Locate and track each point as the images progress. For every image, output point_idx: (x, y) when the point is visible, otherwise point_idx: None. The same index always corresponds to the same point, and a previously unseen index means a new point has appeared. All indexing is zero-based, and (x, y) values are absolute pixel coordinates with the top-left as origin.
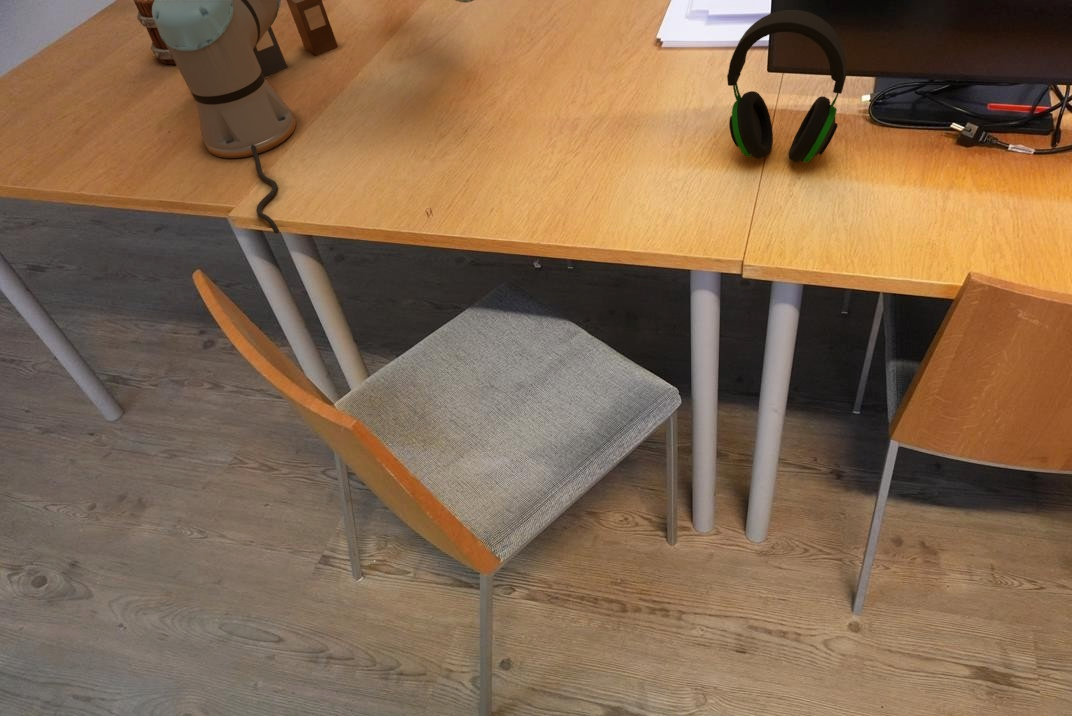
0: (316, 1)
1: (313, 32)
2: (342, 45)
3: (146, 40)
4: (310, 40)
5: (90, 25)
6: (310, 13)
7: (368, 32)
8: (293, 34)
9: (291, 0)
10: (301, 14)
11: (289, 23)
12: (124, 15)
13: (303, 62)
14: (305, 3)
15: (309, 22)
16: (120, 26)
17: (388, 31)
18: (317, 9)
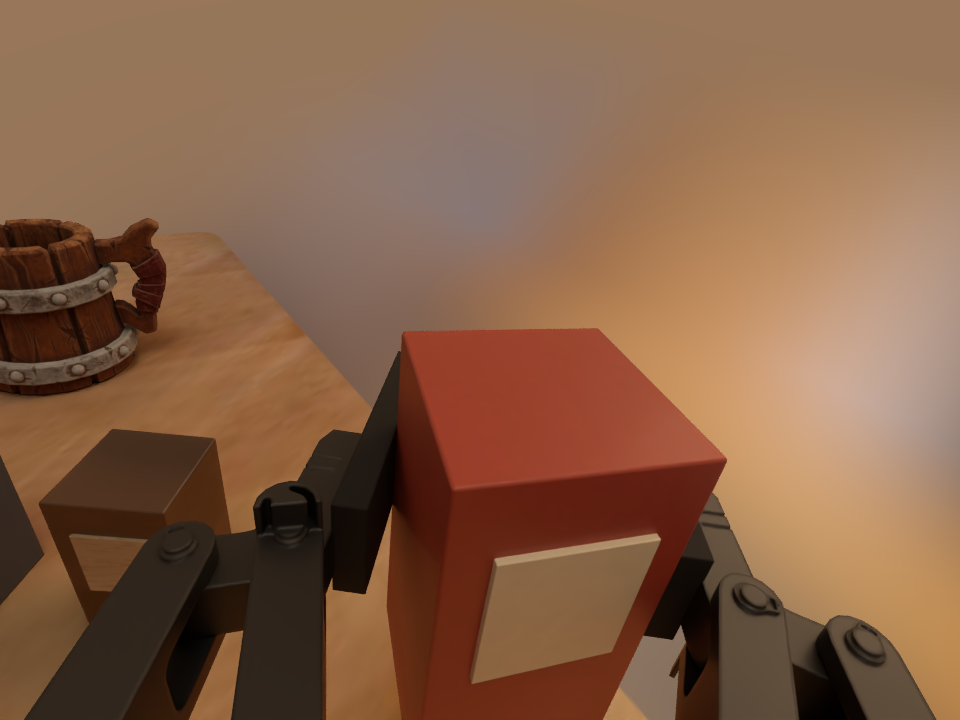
0: (141, 526)
1: (104, 594)
2: (217, 654)
3: (116, 296)
4: (84, 608)
5: (154, 237)
6: (98, 550)
7: (348, 642)
8: (235, 465)
9: (72, 469)
10: (58, 539)
11: (286, 418)
12: (202, 246)
13: (30, 651)
14: (84, 517)
15: (88, 569)
16: (162, 256)
17: (396, 708)
18: (135, 550)
